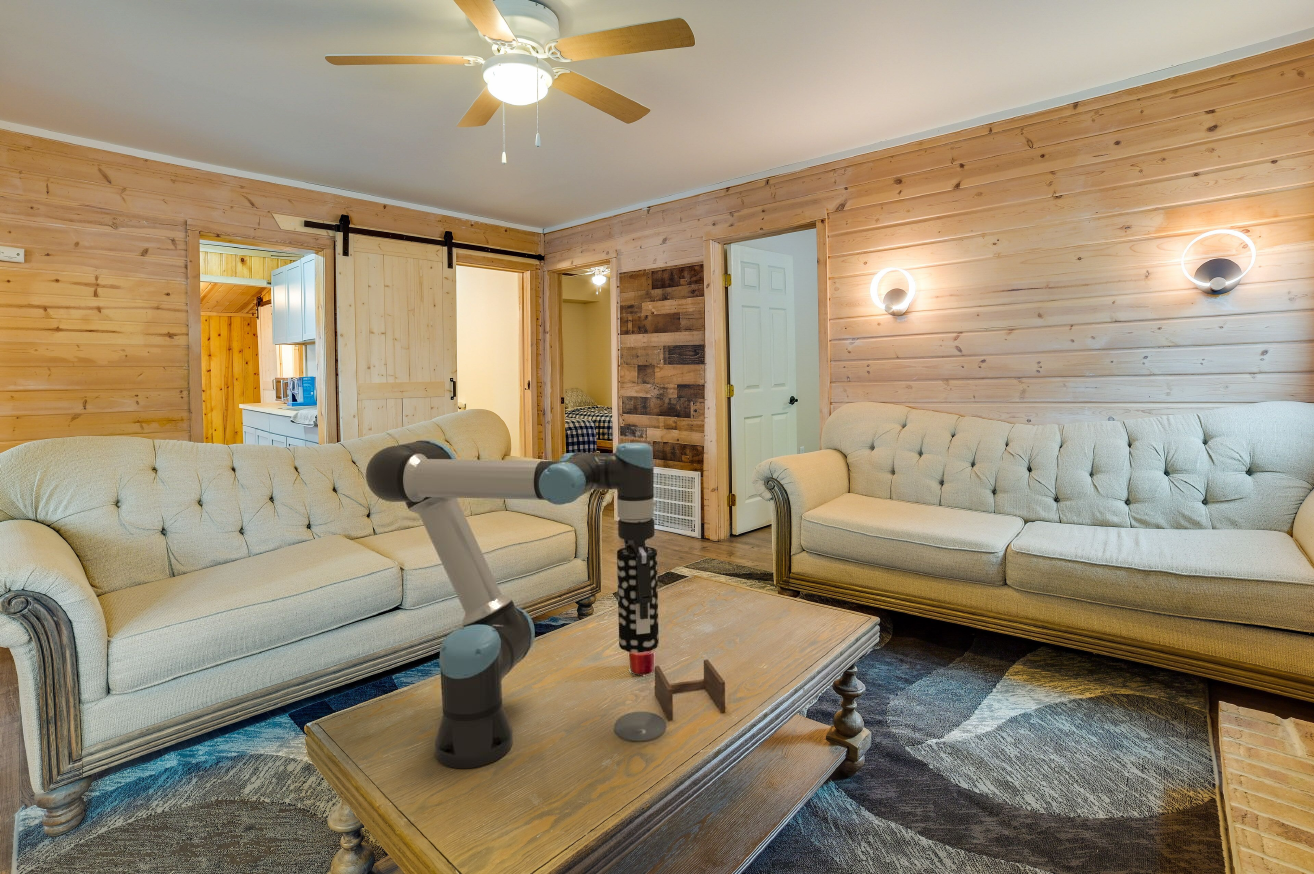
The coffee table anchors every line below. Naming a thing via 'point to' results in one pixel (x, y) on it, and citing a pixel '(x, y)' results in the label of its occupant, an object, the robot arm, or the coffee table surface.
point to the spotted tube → (627, 607)
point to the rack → (690, 688)
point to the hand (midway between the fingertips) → (638, 624)
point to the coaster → (640, 726)
